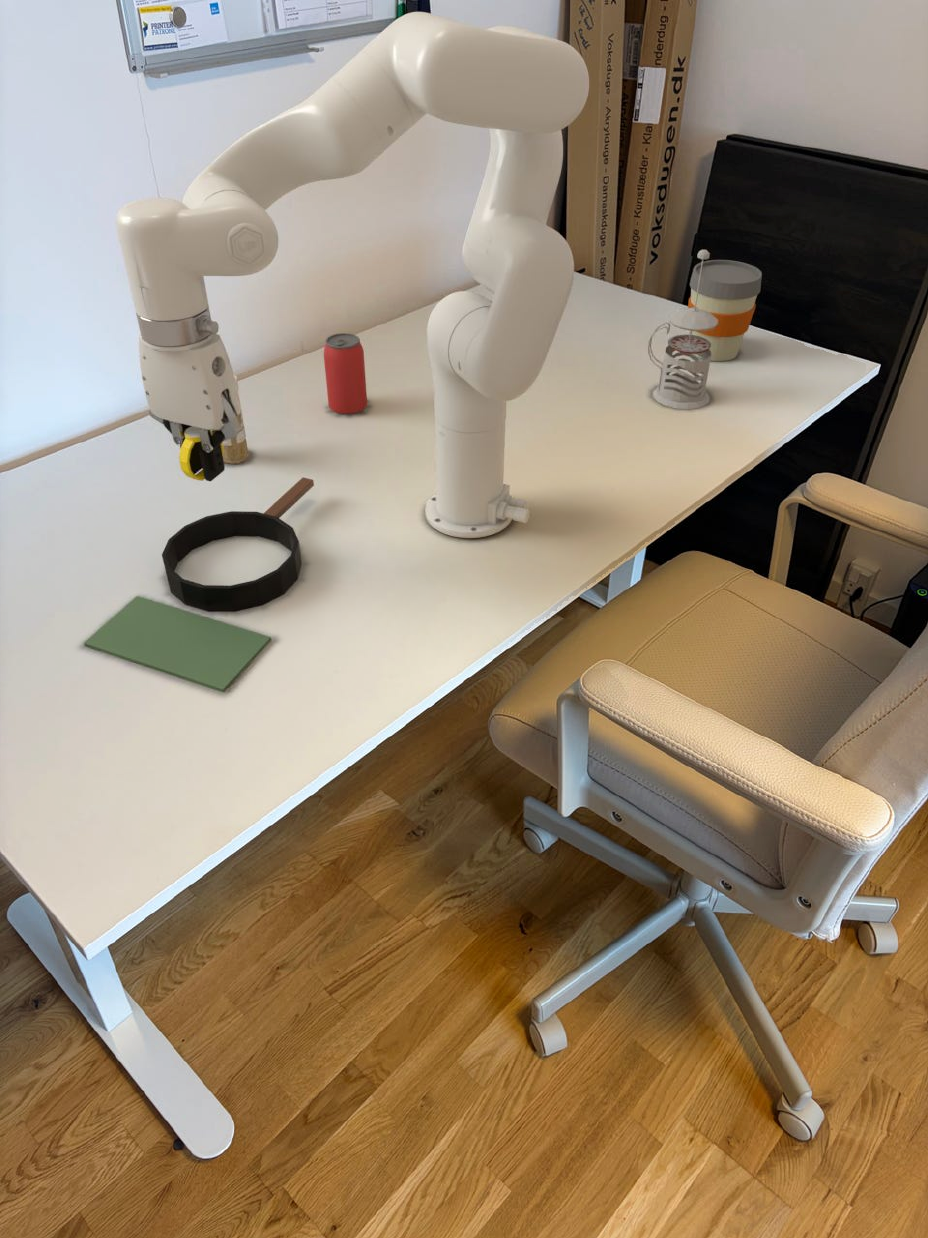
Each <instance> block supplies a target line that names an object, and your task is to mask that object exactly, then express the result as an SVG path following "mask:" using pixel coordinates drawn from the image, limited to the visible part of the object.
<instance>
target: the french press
mask: <svg viewBox="0 0 928 1238" xmlns="http://www.w3.org/2000/svg"><path fill="white" fill-rule="evenodd" d="M710 255H711V253H710V252H709V251H708V250H707V249H701V250H699V251H698V253H697V258H698V260H699V259H700V260H701V262H702V263H701V262H700V263H701V270H700V276H699V282H698V289H697V295H696V301H695V308H688V307H687V308H680V309H677V310H675V311H673V312H672V313H670V314H669V315H668V321H669V322H667V321H666V322H664V323H661V324H659V325H658V326H657V327H655V328H654V329H653V331H652V333H651V335H650V338H649V340H648V343H647V345H648V346H647V354H648V358H649V360H650V361H651V362H652V363H653V365H655V366H656V367H658V368H659V369H660V373H659V374H660V375H659V382H658V386H657V387H656V388H655V389H654V390H653V391H652V397H653V399H654V400H655V401H656V402H657V403H659V404H661V405H663V406H665V407H668V408H672V409H677V410H693V409H694V410H695V409H699V408H702V407H704V406H707V404H708V403H709V402H710V395H709V394H708V392H707V391H706V387H707V382H708V375H709V371H710V366H711V365H710V364H711V361H710V359H711V351H710V350H709V348H710V347H711V343H710V342H709V341H708V340H707V339H705V338H702V337H699V336H697V335H696V336H695V335H693V334H692V331H708V330H711V329H713V328H714V327H715V326H716V325H717V324H718V319H717V318H716V317H714V316H713V315H712V314H711V313H710V312H708V311H705V310H703V309H698V308H696V303H697V297H698V291H699V284H700V278H701V272H702V266H703V262H704V260H709V259H710ZM666 325H667V326H666ZM671 326H674V327H675V328H677V329H680V330H685V331H689V334H685V333H684V334H676V335H673V336H671V337H669V339H668V340H667V344H668V345H666V347H665V351H664V357H663V362H662V361H660V360H659V359H658V358H656V356H655V355H654V352H653V350H652V342H653V341H652V339H653V337H654V336H655V334H656V333H657V332H659V331H660V330H662V329H666V334H667V335H668V334H669V332H670V328H671ZM690 331H691V333H690ZM674 352H676V353H674ZM693 354H697V355H699V356H700V357H701V358H703V359H701V358H698V357H696V356H694V355H693ZM681 356H684V357H685V356H686V357H689V358H691V359H692V360H693V361H692V360H690V359H687V358H683V357H682V358H676V357H681ZM653 359H654V360H655V361H656V362H658V363H660V364H661V366H660V365H658V364H657V363H656V362H655V361H654V360H653ZM700 359H701V360H700ZM672 366H674V367H672ZM683 370H684V371H683ZM685 371H688V372H689V373H690V374H688V373H687V372H685ZM671 373H672V374H671ZM691 374H692V375H691ZM699 374H700V375H699Z"/></svg>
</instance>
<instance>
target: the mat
mask: <svg viewBox="0 0 928 1238" xmlns="http://www.w3.org/2000/svg"><path fill="white" fill-rule="evenodd" d="M271 641H272V637H271V636H269V635H265V634H262V633H259V632H255V631H253V630H249V629H247V628H243V627H240V626H237V625H232V624H230V623H226V622H224V621H220V620H217V619H214V618H211V617H207V616H203V615H200V614H198V613H194V612H190V611H187V610H184V609H181V608H178V607H175V606H172V605H168V604H165V603H161V602H158V601H155V600H152V599H149V598H145V597H142V596H138V595H136V596H135V597H134V598H133V599H132V600H130V601H129V602H128V603H127V604H126V605H125V606H124V607H123V608H121V609H120V610H119V611H117V613H116V614H115V615H113V617H111V618H110V619H109V620H108V621H107V622H105V623H104V624H103V625H102V626H101V627H100V628H99V629H98V630H96V631H95V632H94V633H93V634H92V635H91V636H90V637H89V638H87V639H86V640H85V641H84V642H83V645H84V647H87V648H90V649H93V650H96V651H98V652H102V653H105V654H108V655H111V656H114V657H117V658H120V659H123V660H125V661H129V662H131V663H135V664H138V665H141V666H144V667H146V668H150V669H153V670H155V671H159V672H162V673H165V674H168V675H170V676H172V677H173V676H174V677H176V678H180V679H183V680H185V681H189V682H191V683H194V684H198V685H201V686H204V687H207V688H209V689H212V690H214V691H215V690H216V691H218V692H222V693H225V692H226V691H227V690H228V688H229V687H230V686H231V685H232V684H233V683H234V682H235V681H236V680H237V679H238V678H239V676H240V675H241V674H242V673H243V672H244V671H245V670H246V669H247V668H248V667H249V665H250V664H251V663H252V662H253V661H254V660H255V659H256V658H257V657H258V656H259V655H260V653H261V652H262V651H263V650H264V649H265V648H266V647H267V646H268V644H269V643H270V642H271Z"/></svg>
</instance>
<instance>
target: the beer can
mask: <svg viewBox="0 0 928 1238" xmlns="http://www.w3.org/2000/svg"><path fill="white" fill-rule="evenodd" d="M364 351H365V350H364V348H363V345H362V343H361V339H360V337H359V336H358V335H356V334H353V333H349V332H348V333H347V332H341V333H335V334H334V333H333V334H332V335H330V336H328V337H327V338H326V339H325V345H324V348H323V363H324V372H325V373H324V374H325V383H326V393H327V395H326V396H327V404H328V407H329V409H330V410H331V411H332V412H334V413H335V414H339V415H344V416H347V415H349V416H350V415H354V414H355V415H356V414H358V413H361V412H362V411H364V410H365V409H366V407H367V406H368V395H367V380H366V379H367V378H366V366H365V365H366V364H365V352H364Z"/></svg>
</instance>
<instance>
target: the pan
mask: <svg viewBox="0 0 928 1238" xmlns="http://www.w3.org/2000/svg"><path fill="white" fill-rule="evenodd" d="M314 481H315V480H314V479H313V478H307V477H301V478H300V479H299V480H297V482H295V484H293V485H292V486H291V487H290V488H289V489H288V490H287V491H286V492H285V493H284V494H283V495H282V496H281V497H279V499H277V500H276V501H275V502H274V503H273V504H271V506H269V507H268V508H267V509H266V510H265V511H264V512H260V511H240V510H239V511H238V510H237V511H235V510H233V511H232V510H231V511H226V512H222V513H216V514H212V515H206V516H204V517H202V518H199V519H197V520H194V521H192V522H190V523H187V524H186V525H184V526H182V527H181V528H180V529H179V530H178V531H176V533H174V534H173V535H172V536H171V537H169V539H168V540H167V542H166V544H165V547H164V549H163V551H162V553H161V558H162V562H163V566H164V569H165V574H166V578H167V582H168V586H169V590H170V593H171V594H172V595H173V596H175V598H177V599H178V600H179V601H180V602H181V603H183V604H184V605H185V606H189V607H192V608H195V609H199V610H201V611H203V612H204V611H205V612H209V613H211V612H212V613H213V612H214V613H237V612H240V611H241V612H242V611H245V610H249V609H254V608H258V607H262V606H264V605H267V604H268V603H270V602H272V601H274V600H276V599H278V598H280V597H282V596H283V595H285V594H286V593H287V592H288V591H289V590H290V589H291V587H293V586H294V585H295V583H296V582H298V580H299V576H300V572H301V569H302V566H303V563H302V562H303V561H302V555H301V547H300V541H299V538H298V536H297V534H296V531H295V529H294V527H293V526H291V525H289V524H288V523H287V522H286V521H284V520H282V519H281V517H283V515H284V514H286V513H287V512H288V511H289V510H290V509H291V508H292V507H293V506H294V505H295V504H296V503H298V502H299V500H300V499H302V497H303V496H305V494H307V493H308V492H309V491H310V490H311V489H312V488H313V487H314V486H315V483H314ZM234 537H254V538H256V537H257V538H258V537H259V538H262V539H266V540H270V541H273V542H276V543H279V544H280V545H282V547H284V548H285V549H287V550H288V551H290V555H289V557H288V558H287V559H286V560H285V561H283V563H282V564H280V566H279V567H277V568H276V569H275V570H272V571H271V572H268V573H267V574H265V575H263V576H260V577H258V578H256V579H253V580H250V581H244V582H239V583H236V584H230V585H226V584H225V585H219V584H218V585H216V584H215V585H214V584H213V585H212V584H209V585H208V584H202V583H198V582H196V581H193V580H192V581H191V580H188V579H186V578H185V579H184V578H183V577H182V576H180V574H178V573H177V572H176V569H177V566H178V564H179V563H180V562H181V561H182V560H183V559H184V558H186V557H187V556H188V555H189V554H190V553H191V552H193V551H194V550H197V549H199V548H200V547H204V546H205V545H207V544H210V543H212V542H215V541H220V540H224V539H231V538H234Z"/></svg>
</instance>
